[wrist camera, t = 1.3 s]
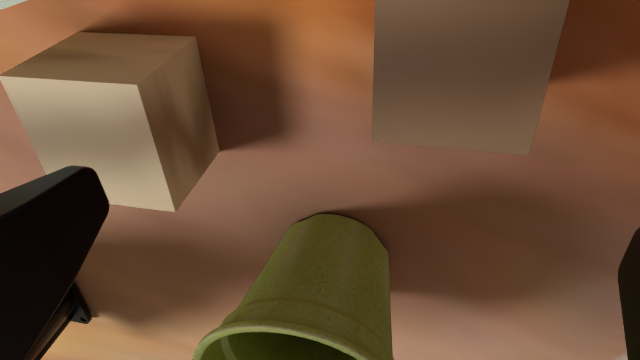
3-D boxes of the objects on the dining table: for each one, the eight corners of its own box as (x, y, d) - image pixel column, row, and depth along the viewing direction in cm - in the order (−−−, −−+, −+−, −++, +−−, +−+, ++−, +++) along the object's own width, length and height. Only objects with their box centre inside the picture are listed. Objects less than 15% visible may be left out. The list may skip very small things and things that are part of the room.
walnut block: (514, 86, 19) (529, 155, 15) (389, 79, 20) (371, 141, 16) (544, -51, 16) (572, -9, 12) (395, -51, 17) (375, -13, 13)
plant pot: (443, 213, 23) (437, 372, 17) (398, 324, 29) (379, 474, 22) (263, 167, 24) (187, 299, 18) (254, 283, 30) (195, 416, 23)
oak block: (220, 149, 24) (175, 212, 21) (118, 140, 26) (57, 197, 22) (196, 35, 21) (136, 84, 17) (79, 31, 22) (-2, 75, 18)
